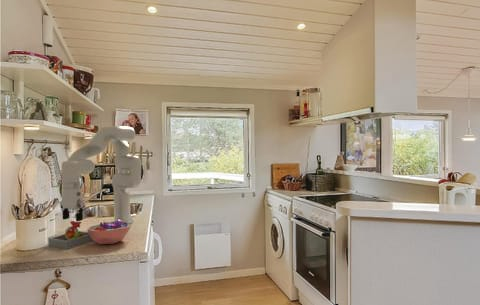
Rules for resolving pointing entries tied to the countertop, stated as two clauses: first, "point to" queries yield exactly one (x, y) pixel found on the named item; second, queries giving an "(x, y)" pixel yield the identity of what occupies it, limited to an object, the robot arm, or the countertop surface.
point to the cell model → (109, 232)
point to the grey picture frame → (69, 241)
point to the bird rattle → (73, 231)
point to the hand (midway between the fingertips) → (72, 219)
